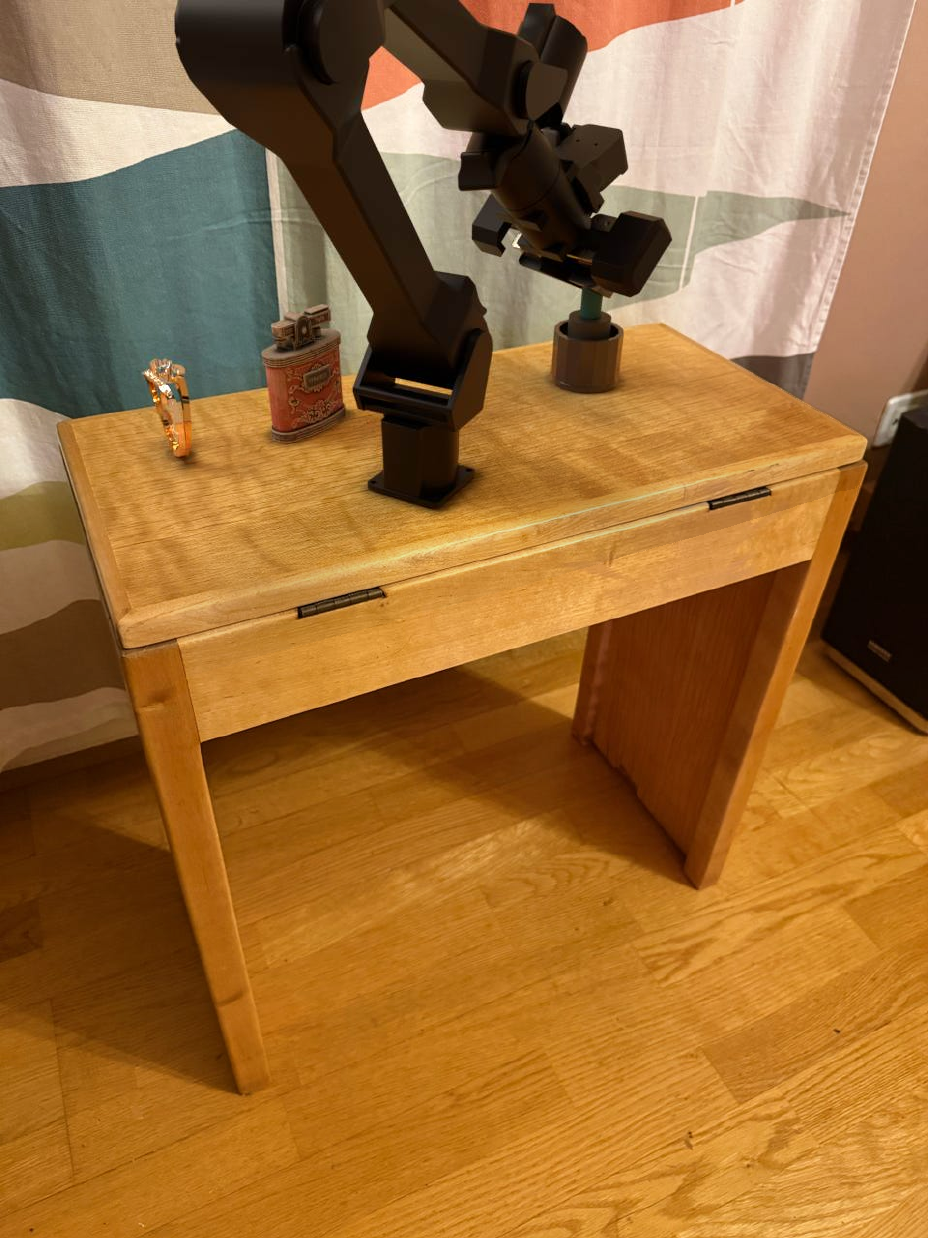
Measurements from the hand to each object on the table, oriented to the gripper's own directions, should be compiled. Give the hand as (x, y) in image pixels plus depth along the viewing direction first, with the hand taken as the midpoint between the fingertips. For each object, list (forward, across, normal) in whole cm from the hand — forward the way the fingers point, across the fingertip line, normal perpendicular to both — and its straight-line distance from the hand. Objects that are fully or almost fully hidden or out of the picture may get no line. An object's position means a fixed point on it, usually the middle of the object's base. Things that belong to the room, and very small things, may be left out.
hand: (601, 290), depth 86 cm
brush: (+4, 0, +6) cm, 7 cm away
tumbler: (+5, 0, +7) cm, 8 cm away
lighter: (-13, +9, +26) cm, 30 cm away
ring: (-21, +12, +34) cm, 42 cm away
